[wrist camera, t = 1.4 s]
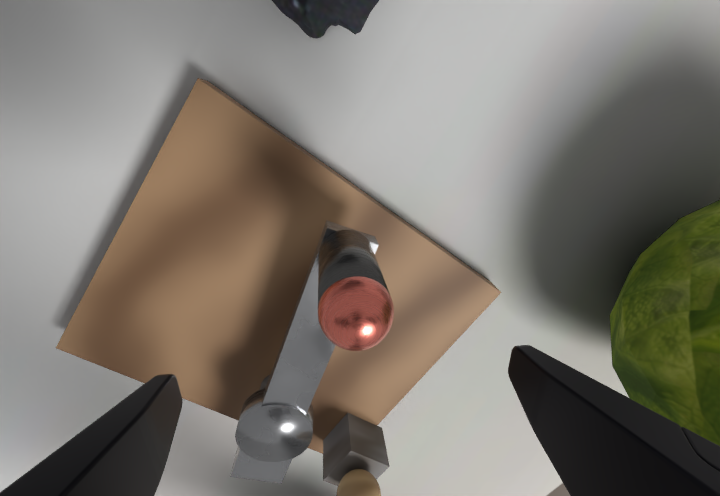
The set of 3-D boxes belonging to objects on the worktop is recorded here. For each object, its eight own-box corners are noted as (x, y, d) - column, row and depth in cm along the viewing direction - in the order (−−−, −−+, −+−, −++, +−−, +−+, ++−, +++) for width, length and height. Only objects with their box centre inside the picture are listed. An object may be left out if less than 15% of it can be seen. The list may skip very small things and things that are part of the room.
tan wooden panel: (495, 285, 24) (565, 354, 17) (346, 446, 28) (355, 552, 21) (208, 81, 17) (134, 60, 10) (72, 332, 21) (-41, 433, 15)
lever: (292, 452, 24) (279, 618, 16) (229, 442, 23) (182, 614, 15) (389, 230, 18) (440, 317, 10) (311, 203, 17) (304, 278, 9)
